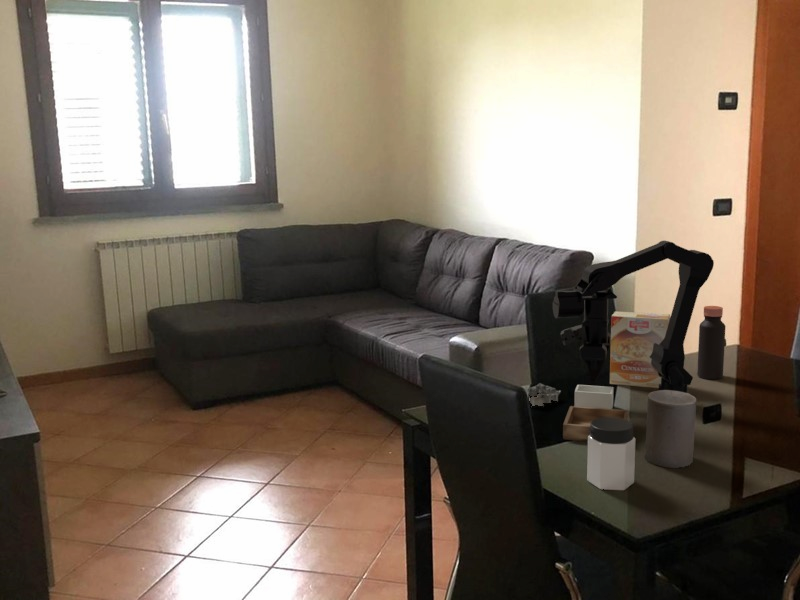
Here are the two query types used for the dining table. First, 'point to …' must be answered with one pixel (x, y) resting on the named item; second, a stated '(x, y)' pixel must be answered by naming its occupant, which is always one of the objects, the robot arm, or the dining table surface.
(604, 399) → the grey crate
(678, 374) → the robot arm
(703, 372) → the bottle
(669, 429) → the pillar candle
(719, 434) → the dining table surface
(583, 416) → the walnut crate
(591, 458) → the jar
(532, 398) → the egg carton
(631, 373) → the coffeecake box
